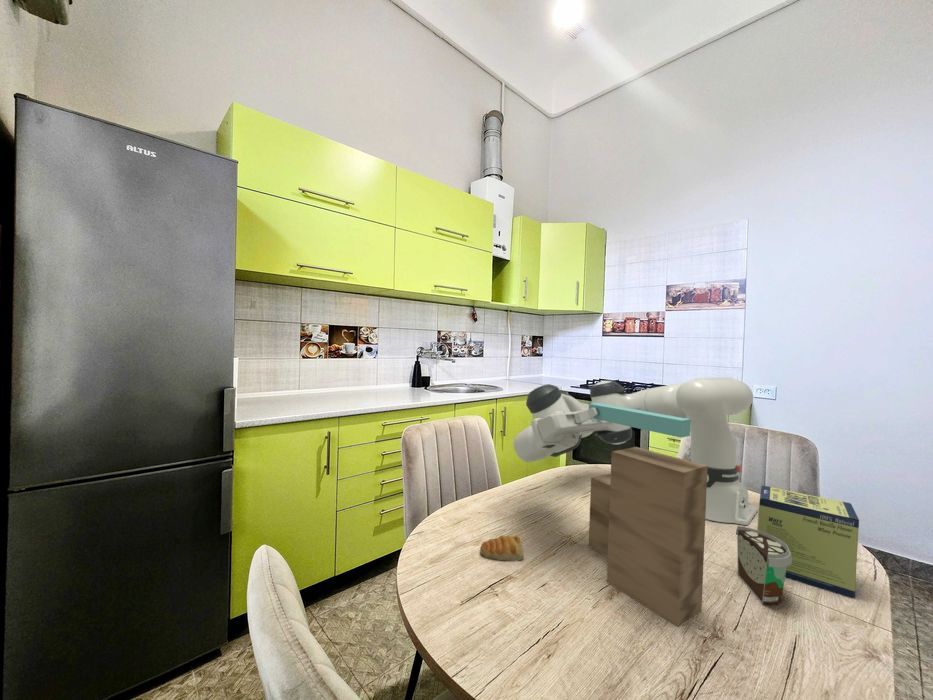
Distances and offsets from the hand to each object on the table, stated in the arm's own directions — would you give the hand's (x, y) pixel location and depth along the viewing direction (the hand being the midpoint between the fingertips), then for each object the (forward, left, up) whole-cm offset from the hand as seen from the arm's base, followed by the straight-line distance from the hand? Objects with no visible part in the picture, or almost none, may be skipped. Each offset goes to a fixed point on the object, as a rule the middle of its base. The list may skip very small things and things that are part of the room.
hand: (603, 410), depth 82 cm
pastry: (+15, -13, -34) cm, 39 cm away
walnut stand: (-5, +6, -33) cm, 34 cm away
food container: (-21, +23, -33) cm, 46 cm away
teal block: (0, +7, -2) cm, 7 cm away
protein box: (-36, +24, -33) cm, 55 cm away
